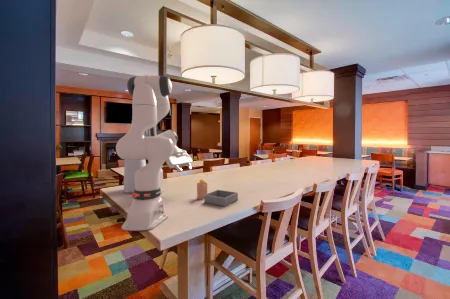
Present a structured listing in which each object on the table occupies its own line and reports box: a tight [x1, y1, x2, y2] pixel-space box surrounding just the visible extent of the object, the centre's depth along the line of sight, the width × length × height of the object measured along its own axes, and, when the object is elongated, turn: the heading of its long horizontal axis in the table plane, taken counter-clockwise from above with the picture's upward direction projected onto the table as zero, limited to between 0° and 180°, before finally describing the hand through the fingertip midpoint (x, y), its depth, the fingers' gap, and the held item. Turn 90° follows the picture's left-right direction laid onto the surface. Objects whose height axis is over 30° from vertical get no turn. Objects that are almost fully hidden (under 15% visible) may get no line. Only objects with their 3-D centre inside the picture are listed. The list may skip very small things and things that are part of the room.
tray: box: [203, 189, 239, 207], centre depth 136 cm, size 14×14×5 cm
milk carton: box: [159, 168, 164, 193], centre depth 158 cm, size 7×7×19 cm
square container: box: [196, 181, 208, 201], centre depth 143 cm, size 4×4×10 cm
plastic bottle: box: [123, 159, 147, 194], centre depth 163 cm, size 15×15×28 cm
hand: (186, 170), depth 149 cm, fingers open, 8 cm apart
